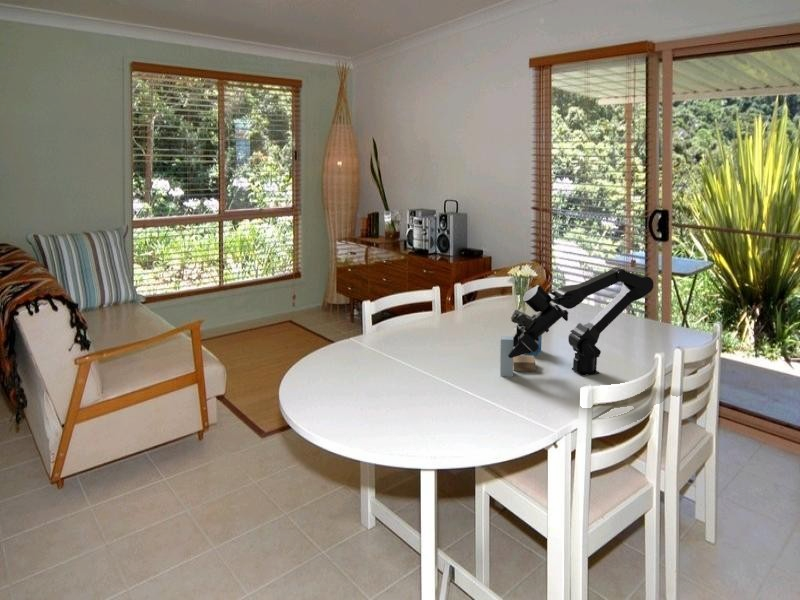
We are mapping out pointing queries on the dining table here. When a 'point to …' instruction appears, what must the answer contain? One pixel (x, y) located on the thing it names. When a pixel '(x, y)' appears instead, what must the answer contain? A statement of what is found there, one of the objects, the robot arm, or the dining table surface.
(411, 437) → the dining table surface
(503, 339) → the slate-blue post
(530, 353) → the perfume bottle
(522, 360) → the walnut plinth
